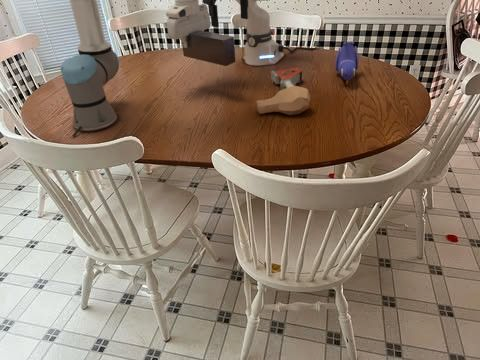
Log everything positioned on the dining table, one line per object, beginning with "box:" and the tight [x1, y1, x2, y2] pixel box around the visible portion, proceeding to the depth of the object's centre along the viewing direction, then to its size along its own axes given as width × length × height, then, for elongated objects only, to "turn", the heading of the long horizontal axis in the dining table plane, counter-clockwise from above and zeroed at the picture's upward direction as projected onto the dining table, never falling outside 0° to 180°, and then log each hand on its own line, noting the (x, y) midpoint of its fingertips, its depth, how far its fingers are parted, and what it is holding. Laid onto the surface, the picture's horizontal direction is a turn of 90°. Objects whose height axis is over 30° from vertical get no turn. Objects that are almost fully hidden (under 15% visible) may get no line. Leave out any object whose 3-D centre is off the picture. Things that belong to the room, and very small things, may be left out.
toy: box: [334, 40, 360, 86], centre depth 151 cm, size 10×17×25 cm
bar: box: [181, 30, 236, 67], centre depth 139 cm, size 24×6×10 cm, turn 50°
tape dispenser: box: [270, 67, 303, 90], centre depth 150 cm, size 18×5×20 cm
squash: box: [255, 85, 312, 116], centre depth 130 cm, size 11×20×9 cm, turn 92°
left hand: (230, 22), depth 120 cm, fingers open, 13 cm apart
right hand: (192, 45), depth 144 cm, fingers closed on bar, 5 cm apart
